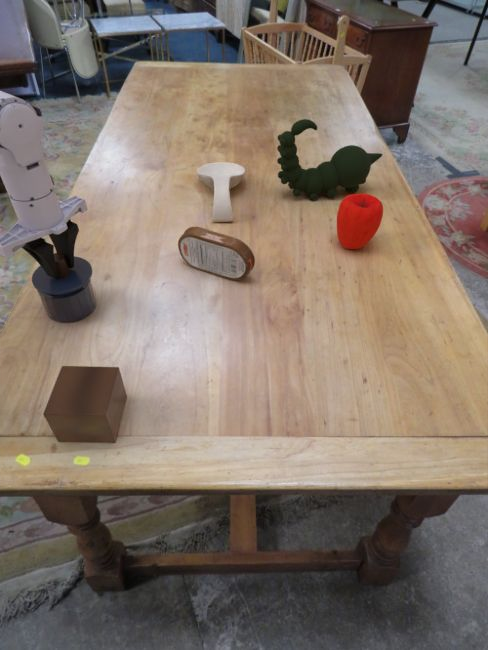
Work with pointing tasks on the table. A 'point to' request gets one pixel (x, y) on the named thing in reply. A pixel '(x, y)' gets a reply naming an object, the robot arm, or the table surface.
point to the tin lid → (63, 276)
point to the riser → (86, 404)
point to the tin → (216, 253)
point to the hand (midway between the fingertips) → (60, 270)
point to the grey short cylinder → (70, 304)
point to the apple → (358, 220)
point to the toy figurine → (322, 166)
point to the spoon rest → (221, 186)
